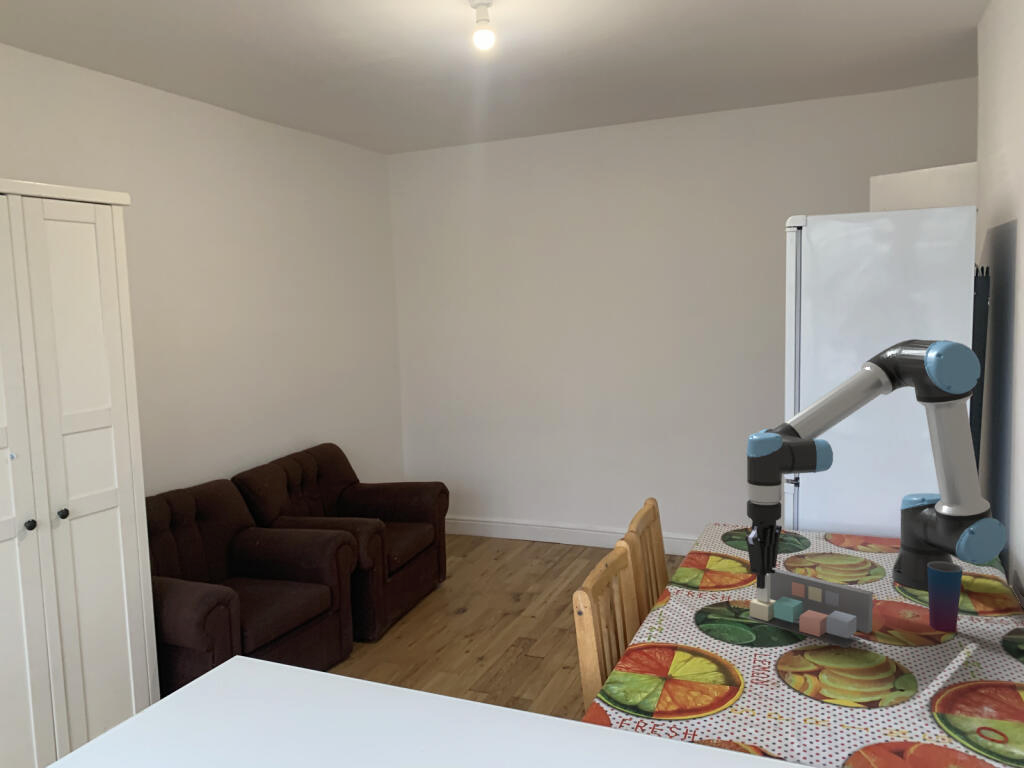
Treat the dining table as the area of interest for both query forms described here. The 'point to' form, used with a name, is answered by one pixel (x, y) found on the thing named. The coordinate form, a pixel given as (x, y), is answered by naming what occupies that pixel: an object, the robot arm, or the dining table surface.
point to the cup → (944, 595)
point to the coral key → (813, 623)
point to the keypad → (821, 603)
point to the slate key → (841, 624)
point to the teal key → (787, 609)
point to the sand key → (762, 609)
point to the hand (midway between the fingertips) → (763, 600)
